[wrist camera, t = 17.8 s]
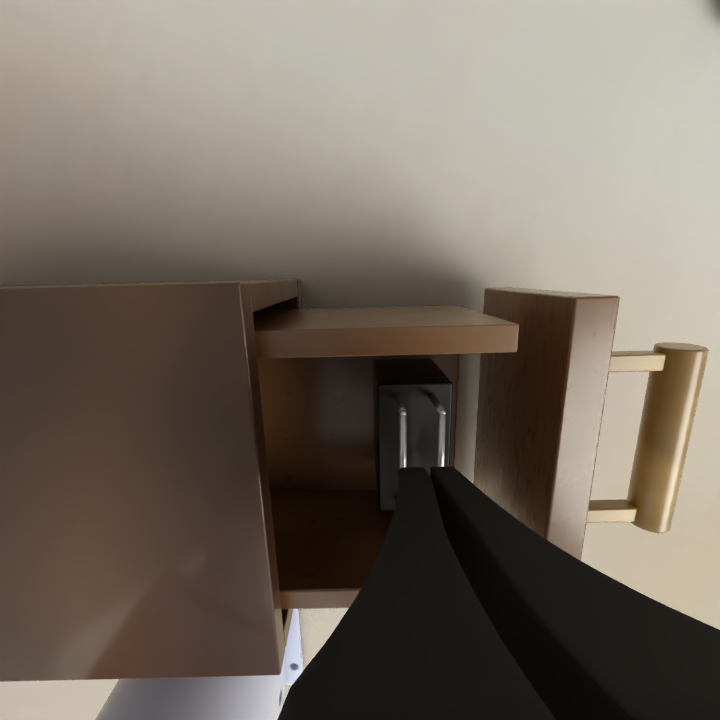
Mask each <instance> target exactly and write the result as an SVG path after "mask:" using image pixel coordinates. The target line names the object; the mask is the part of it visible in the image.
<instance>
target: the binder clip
mask: <svg viewBox="0 0 720 720" xmlns="http://www.w3.org/2000/svg"><path fill="white" fill-rule="evenodd" d="M373 384H374V446H375V470H376V481H377V493H378V504H379V510H380V511H394V510H395V506H396V501H397V497H398V471H399V470H400V469H401V468H402V467H424V468H425V470H426V471H427V473H428V474H429V476H430V467H442V466H450V446H451V421H452V396H453V383H452V382H451V380H450V379H449V378H448V377H447V376H446V375H445V374H444V372H443V371H442V370H441V369H440V368H439V367H438V366H437V364H436V363H435V362H434V361H433V360H432V359H393V360H374V361H373Z"/></svg>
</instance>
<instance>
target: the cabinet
mask: <svg viewBox="0 0 720 720" xmlns="http://www.w3.org/2000/svg"><path fill="white" fill-rule="evenodd" d="M280 309H302V303H301V288H300V279H273V280H234V281H194V282H154V283H114V284H74V285H35V286H0V682H4V681H48V680H91V679H135V678H178V677H222V676H265V675H280V673H281V670H282V665H283V659H284V654H285V647H286V644H287V639H288V634H289V629H290V623H291V618H292V613H293V609H281V601H280V591H279V580H278V570H277V559H276V549H275V539H274V528H273V518H272V508H271V497H270V487H269V477H268V466H267V456H266V446H265V435H264V425H263V415H262V404H261V394H260V383H259V373H258V363H257V352H256V342H255V332H254V321H253V312H255V311H258V310H280Z"/></svg>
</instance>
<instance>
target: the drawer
mask: <svg viewBox="0 0 720 720" xmlns="http://www.w3.org/2000/svg"><path fill="white" fill-rule="evenodd" d="M619 300H620V298H619V297H618V296H612V295H600V294H587V293H574V292H562V291H549V290H537V289H524V288H511V287H506V288H485V294H484V311H483V313H480V312H477V311H474V310H470V309H467V308H464V307H459V306H456V305H441V306H401V307H360V308H320V309H280V310H258V311H255V312H253V321H254V332H255V342H256V352H257V363H258V373H259V383H260V394H261V404H262V415H263V425H264V435H265V446H266V456H267V466H268V477H269V487H270V497H271V508H272V518H273V528H274V539H275V549H276V559H277V570H278V580H279V591H280V601H281V609H317V608H349V607H350V606H351V604H352V603H353V601H354V600H355V598H356V596H357V595H358V593H359V591H360V590H361V588H362V586H363V584H364V582H365V580H366V578H367V577H368V575H369V573H370V571H371V569H372V567H373V565H374V563H375V561H376V559H377V556H378V554H379V552H380V550H381V547H382V545H383V543H384V540H385V538H386V535H387V532H388V529H389V526H390V523H391V520H392V517H393V514H394V511H380V510H379V504H378V493H377V481H376V470H375V446H374V384H373V361H374V360H393V359H432V360H433V361H434V362H435V363H436V364H437V366H438V367H439V368H440V369H441V370H442V371H443V372H444V374H445V375H446V376H447V377H448V378H449V379H450V380H451V382H452V383H453V396H452V421H451V446H450V466H452V467H454V459H455V436H456V413H457V390H458V368H459V354H469V353H481V362H480V379H479V396H478V413H477V430H476V447H475V464H474V481H473V484H474V485H475V486H476V487H477V488H479V489H480V490H481V491H482V492H483V493H484V494H486V495H487V496H488V497H489V498H491V499H492V500H493V501H494V502H496V503H497V504H498V505H499V506H501V507H502V508H503V509H504V510H506V511H507V512H508V513H510V514H511V515H512V516H514V517H515V518H516V519H518V520H519V521H520V522H522V523H523V524H525V525H526V526H527V527H529V528H530V529H532V530H533V531H534V532H536V533H537V534H539V535H540V536H542V537H543V538H545V539H546V540H548V541H549V542H551V543H552V544H554V545H556V546H557V547H559V548H560V549H562V550H564V551H565V552H567V553H569V554H570V555H572V556H573V557H575V558H577V559H578V560H580V561H581V555H582V548H583V541H584V535H585V528H586V523H598V522H631V523H632V524H634V525H635V526H637V527H639V528H641V529H644V530H647V531H650V532H655V533H665V532H668V531H669V530H670V528H671V523H672V518H673V514H674V509H675V504H676V500H677V495H678V491H679V486H680V481H681V477H682V472H683V467H684V463H685V458H686V454H687V449H688V444H689V440H690V435H691V430H692V426H693V421H694V416H695V412H696V407H697V403H698V398H699V393H700V389H701V384H702V379H703V375H704V370H705V365H706V361H707V356H708V352H709V350H708V348H706V347H703V346H699V345H693V344H684V343H657V344H655V345H654V350H653V351H621V352H612V347H613V340H614V333H615V327H616V320H617V313H618V306H619ZM634 371H650V372H649V378H648V383H647V389H646V395H645V400H644V406H643V411H642V417H641V423H640V428H639V434H638V440H637V445H636V451H635V457H634V462H633V468H632V473H631V479H630V485H629V490H628V496H627V500H590V494H591V488H592V481H593V474H594V467H595V461H596V454H597V447H598V441H599V434H600V427H601V420H602V414H603V407H604V400H605V394H606V387H607V380H608V374H609V372H634Z"/></svg>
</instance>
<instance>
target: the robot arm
mask: <svg viewBox="0 0 720 720" xmlns="http://www.w3.org/2000/svg"><path fill="white" fill-rule="evenodd" d="M286 685H292V686H291V688H290V690H289V692H288V695H287V697H286V700H285V702H284V705H283V699H284V694H285V688H286ZM282 705H283V707H282ZM95 720H720V630H718V629H716V628H714V627H712V626H709V625H707V624H705V623H703V622H701V621H698V620H696V619H694V618H692V617H690V616H687V615H685V614H683V613H681V612H679V611H676V610H674V609H672V608H670V607H668V606H666V605H664V604H661V603H659V602H657V601H655V600H653V599H651V598H649V597H647V596H645V595H643V594H641V593H639V592H637V591H635V590H633V589H631V588H629V587H627V586H626V585H624V584H622V583H620V582H618V581H616V580H614V579H612V578H610V577H609V576H607V575H605V574H603V573H601V572H599V571H597V570H596V569H594V568H592V567H590V566H589V565H587V564H585V563H583V562H582V561H580V560H578V559H577V558H575V557H573V556H572V555H570V554H569V553H567V552H565V551H564V550H562V549H560V548H559V547H557V546H556V545H554V544H552V543H551V542H549V541H548V540H546V539H545V538H543V537H542V536H540V535H539V534H537V533H536V532H534V531H533V530H532V529H530V528H529V527H527V526H526V525H525V524H523V523H522V522H520V521H519V520H518V519H516V518H515V517H514V516H512V515H511V514H510V513H508V512H507V511H506V510H504V509H503V508H502V507H501V506H499V505H498V504H497V503H496V502H494V501H493V500H492V499H491V498H489V497H488V496H487V495H486V494H484V493H483V492H482V491H481V490H480V489H479V488H477V487H476V486H475V485H474V484H473V483H471V482H470V481H469V480H468V479H467V478H466V477H464V476H463V475H462V474H461V473H460V472H459V471H457V470H456V469H455V468H454V467H452V466H442V467H430V476H429V474H428V473H427V471H426V470H425V468H424V467H402V468H401V469H400V470H399V471H398V497H397V501H396V506H395V510H394V514H393V517H392V520H391V523H390V526H389V529H388V532H387V535H386V538H385V540H384V543H383V545H382V547H381V550H380V552H379V554H378V556H377V559H376V561H375V563H374V565H373V567H372V569H371V571H370V573H369V575H368V577H367V578H366V580H365V582H364V584H363V586H362V588H361V590H360V591H359V593H358V595H357V596H356V598H355V600H354V601H353V603H352V604H351V606H350V607H349V609H348V610H347V612H346V613H345V615H344V617H343V618H342V620H341V621H340V623H339V624H338V626H337V627H336V629H335V630H334V632H333V633H332V635H331V636H330V637H329V639H328V640H327V641H326V643H325V644H324V645H323V647H322V648H321V649H320V650H319V652H318V653H317V654H316V656H315V657H314V658H313V659H312V661H311V662H310V663H309V664H308V666H307V667H306V668H305V669H304V670H303V658H302V646H301V634H300V621H299V609H293V613H292V618H291V623H290V629H289V634H288V639H287V644H286V647H285V654H284V659H283V665H282V670H281V673H280V675H265V676H222V677H178V678H135V679H119V681H118V682H117V684H116V686H115V687H114V689H113V691H112V692H111V694H110V696H109V697H108V699H107V701H106V702H105V704H104V706H103V708H102V709H101V711H100V713H99V714H98V716H97V718H96V719H95Z"/></svg>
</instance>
